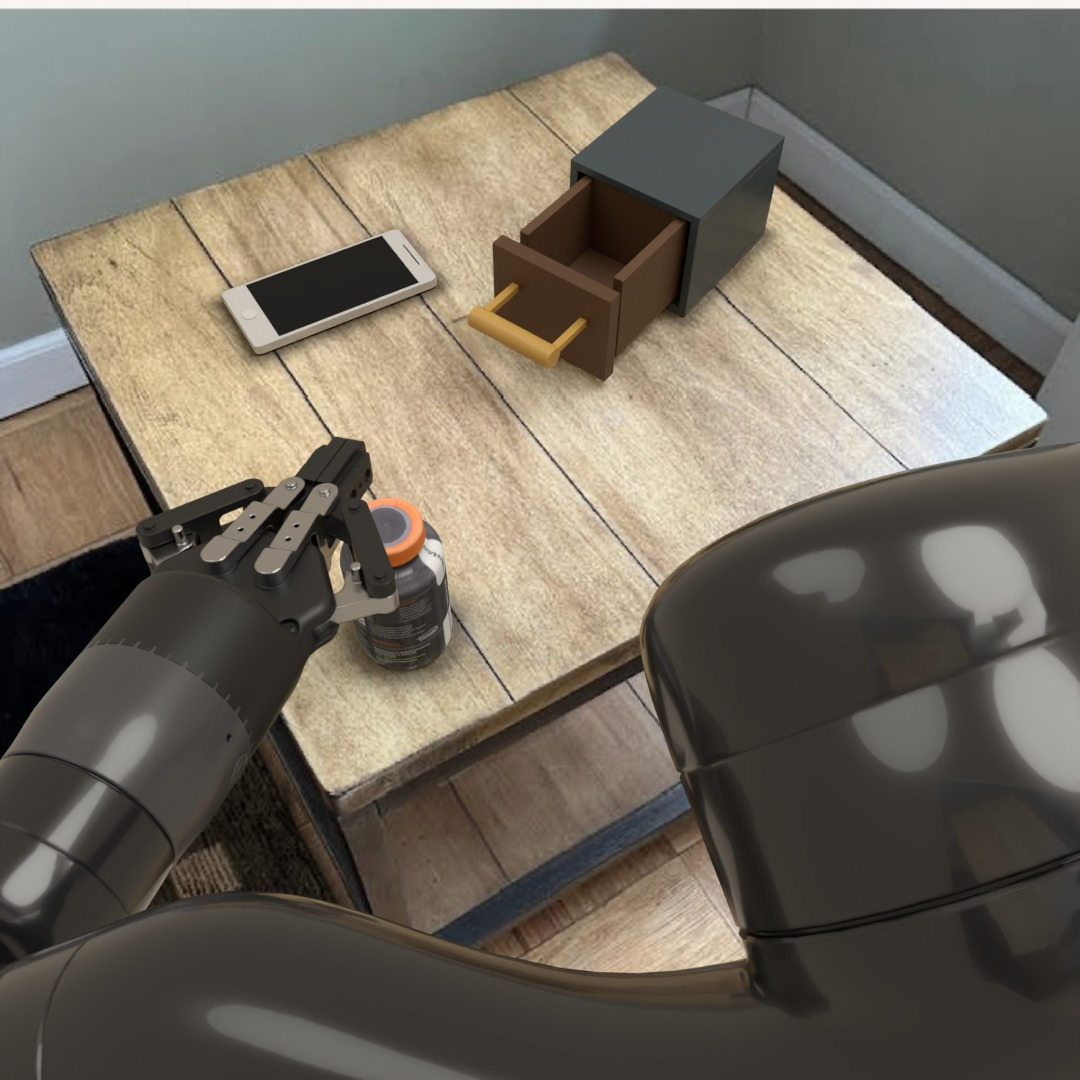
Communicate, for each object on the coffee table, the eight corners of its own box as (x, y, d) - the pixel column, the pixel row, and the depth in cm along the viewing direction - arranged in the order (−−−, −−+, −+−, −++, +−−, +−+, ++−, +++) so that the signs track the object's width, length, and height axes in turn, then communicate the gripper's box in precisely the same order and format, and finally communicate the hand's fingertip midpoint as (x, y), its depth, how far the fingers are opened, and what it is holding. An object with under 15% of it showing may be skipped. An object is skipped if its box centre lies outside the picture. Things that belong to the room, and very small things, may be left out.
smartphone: (222, 300, 86) (219, 291, 85) (398, 235, 91) (397, 226, 90) (257, 356, 83) (255, 347, 82) (438, 286, 87) (438, 277, 87)
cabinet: (684, 317, 86) (700, 218, 78) (566, 258, 90) (570, 159, 82) (764, 235, 92) (785, 136, 84) (650, 184, 95) (660, 84, 88)
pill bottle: (469, 612, 70) (460, 503, 60) (424, 687, 66) (408, 584, 57) (387, 578, 71) (366, 467, 62) (339, 650, 68) (310, 545, 59)
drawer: (564, 423, 78) (567, 344, 72) (453, 360, 81) (446, 280, 75) (687, 298, 86) (699, 217, 79) (581, 246, 89) (585, 164, 83)
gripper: (296, 693, 37) (474, 410, 50) (-23, 615, 41) (217, 368, 53) (330, 819, 42) (484, 534, 55) (44, 741, 46) (249, 488, 58)
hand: (352, 452), depth 54 cm, fingers closed
